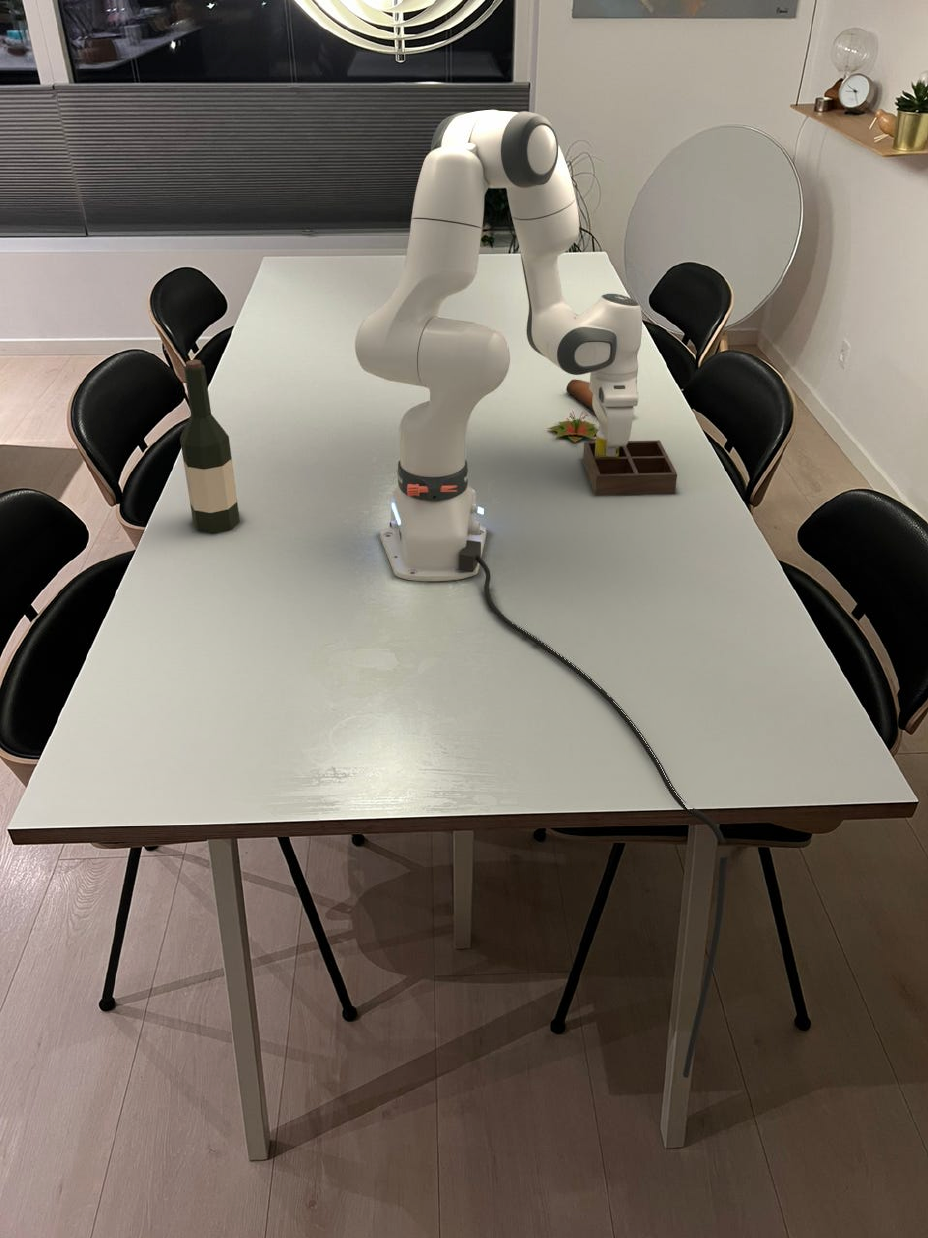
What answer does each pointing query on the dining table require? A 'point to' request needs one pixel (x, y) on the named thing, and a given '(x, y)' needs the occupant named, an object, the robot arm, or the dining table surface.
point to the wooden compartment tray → (631, 470)
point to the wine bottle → (207, 460)
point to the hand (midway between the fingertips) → (607, 448)
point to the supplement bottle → (602, 444)
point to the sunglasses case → (581, 392)
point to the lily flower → (575, 429)
